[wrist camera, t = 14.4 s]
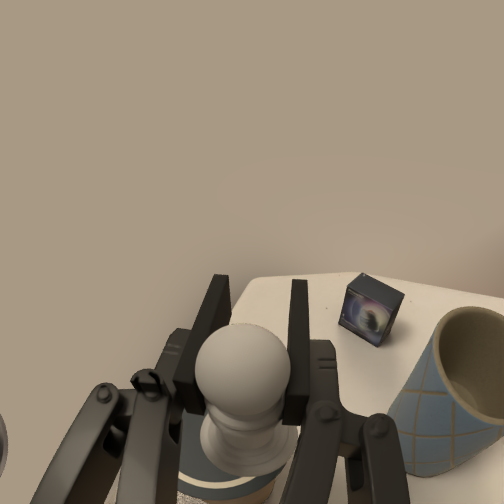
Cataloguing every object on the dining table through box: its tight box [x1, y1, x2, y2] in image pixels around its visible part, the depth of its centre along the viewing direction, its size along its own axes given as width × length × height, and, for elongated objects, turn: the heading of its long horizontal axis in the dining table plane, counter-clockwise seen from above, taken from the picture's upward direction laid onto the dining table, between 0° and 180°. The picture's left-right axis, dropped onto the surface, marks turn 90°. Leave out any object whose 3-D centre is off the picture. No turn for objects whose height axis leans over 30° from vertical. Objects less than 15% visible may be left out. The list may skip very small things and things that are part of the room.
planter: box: [387, 306, 504, 477], centre depth 25 cm, size 19×19×20 cm
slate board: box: [177, 408, 287, 501], centre depth 18 cm, size 12×12×1 cm
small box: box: [338, 273, 405, 347], centre depth 50 cm, size 11×6×10 cm, turn 41°
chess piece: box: [195, 323, 298, 477], centre depth 11 cm, size 5×5×9 cm
